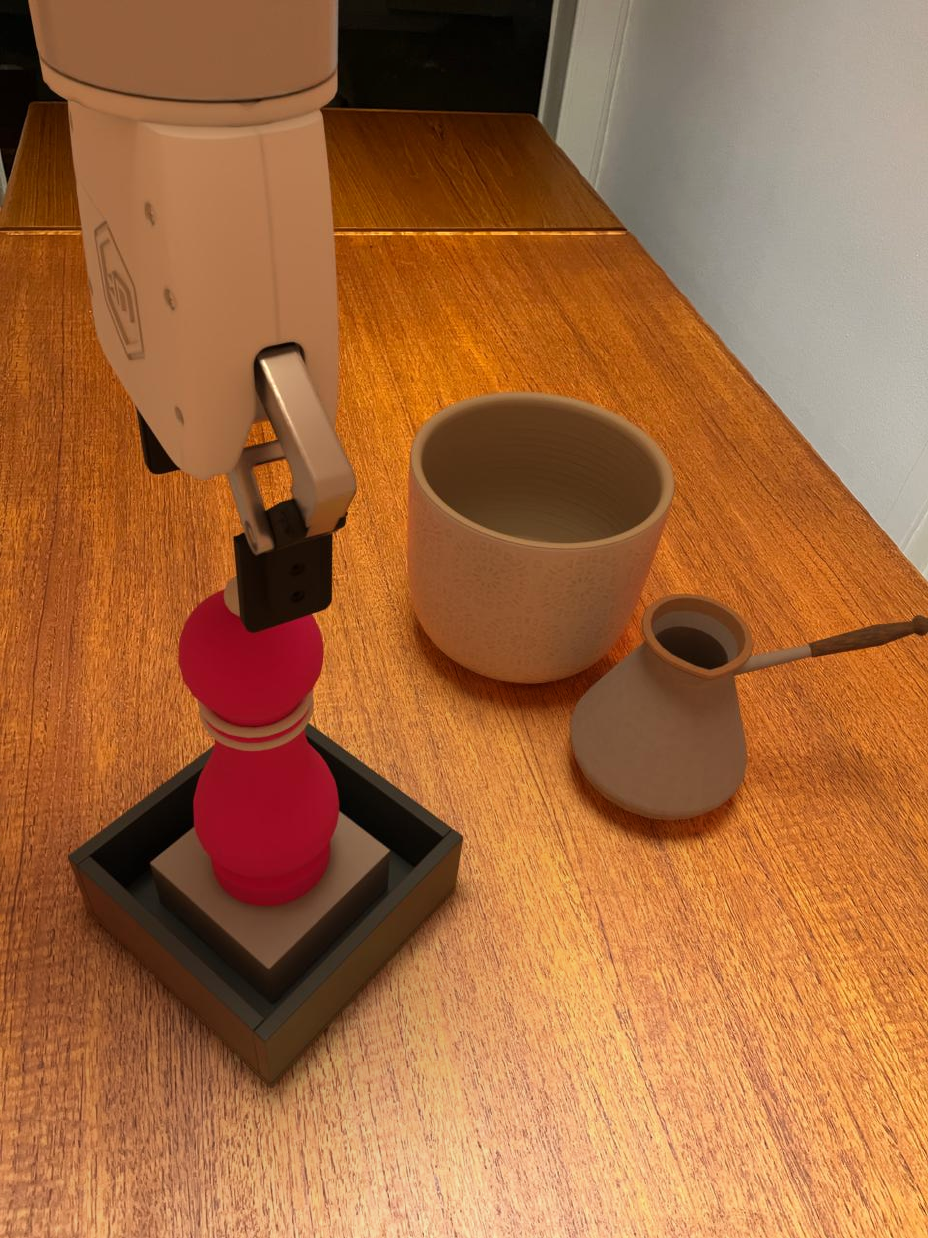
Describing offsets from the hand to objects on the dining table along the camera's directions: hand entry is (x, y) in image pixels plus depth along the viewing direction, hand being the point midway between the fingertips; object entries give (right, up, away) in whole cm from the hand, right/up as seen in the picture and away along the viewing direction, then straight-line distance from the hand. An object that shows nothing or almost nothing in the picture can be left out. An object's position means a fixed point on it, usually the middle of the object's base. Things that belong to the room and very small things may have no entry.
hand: (233, 534), depth 37 cm
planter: (+12, -4, +36) cm, 38 cm away
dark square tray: (-2, -19, +19) cm, 27 cm away
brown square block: (-2, -19, +18) cm, 26 cm away
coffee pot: (+26, -13, +28) cm, 41 cm away
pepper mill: (-2, -16, +16) cm, 22 cm away
